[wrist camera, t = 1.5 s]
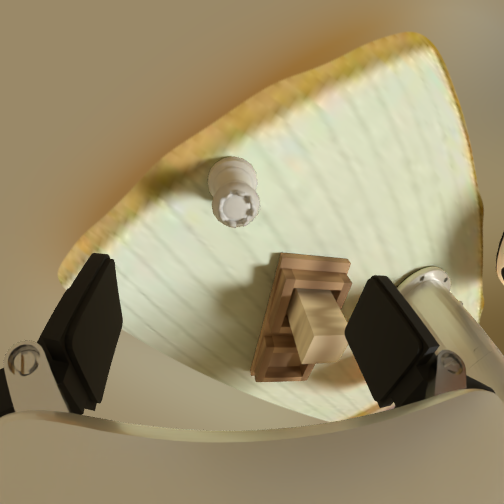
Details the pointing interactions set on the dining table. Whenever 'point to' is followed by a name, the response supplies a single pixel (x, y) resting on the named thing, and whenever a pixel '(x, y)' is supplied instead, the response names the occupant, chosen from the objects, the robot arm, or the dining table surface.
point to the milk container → (500, 260)
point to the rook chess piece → (234, 191)
